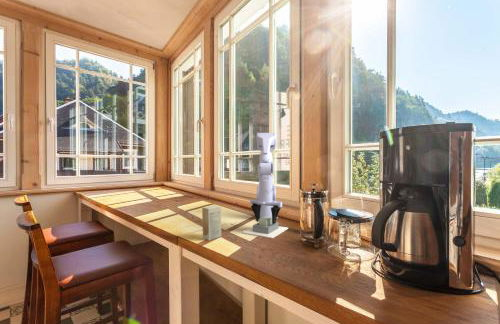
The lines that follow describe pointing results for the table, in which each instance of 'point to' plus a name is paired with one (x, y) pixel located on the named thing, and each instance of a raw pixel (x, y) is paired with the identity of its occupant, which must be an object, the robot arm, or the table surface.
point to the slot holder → (266, 230)
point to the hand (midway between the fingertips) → (265, 222)
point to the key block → (265, 221)
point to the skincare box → (211, 222)
